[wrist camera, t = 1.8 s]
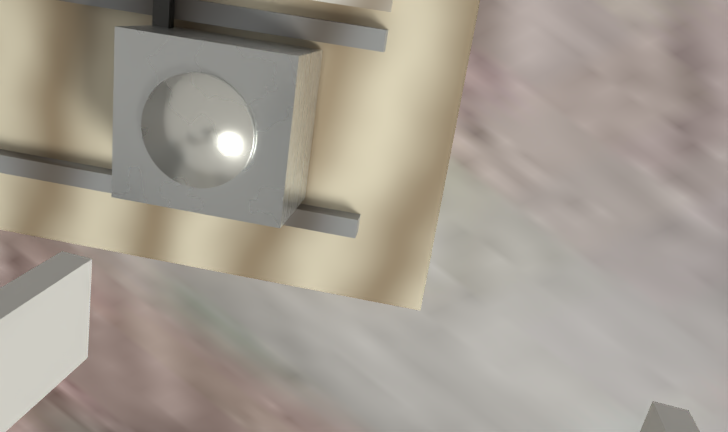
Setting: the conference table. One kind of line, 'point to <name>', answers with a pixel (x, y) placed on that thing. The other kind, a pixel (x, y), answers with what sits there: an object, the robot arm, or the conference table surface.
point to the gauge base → (328, 149)
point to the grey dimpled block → (212, 120)
